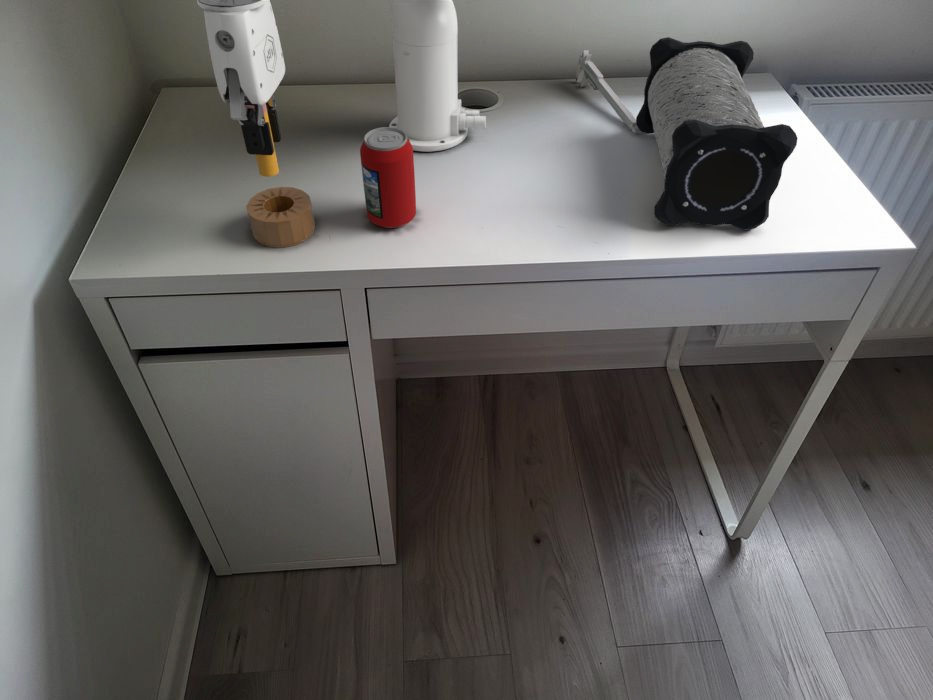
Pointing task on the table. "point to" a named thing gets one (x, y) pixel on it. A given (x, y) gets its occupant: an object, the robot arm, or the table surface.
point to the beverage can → (388, 177)
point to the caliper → (603, 88)
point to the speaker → (711, 136)
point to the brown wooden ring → (281, 217)
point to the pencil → (266, 162)
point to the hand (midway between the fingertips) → (264, 145)
